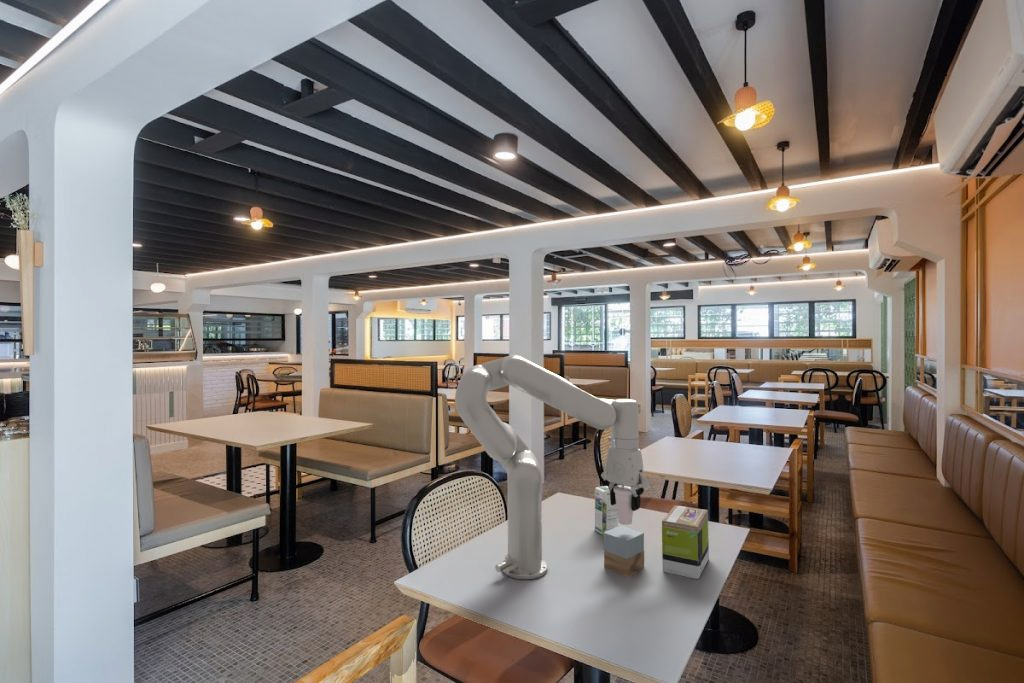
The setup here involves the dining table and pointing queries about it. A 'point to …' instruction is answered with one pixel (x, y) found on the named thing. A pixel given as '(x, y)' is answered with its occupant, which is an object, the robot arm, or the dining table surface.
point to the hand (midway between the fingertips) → (625, 506)
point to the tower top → (623, 541)
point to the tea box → (685, 541)
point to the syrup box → (604, 510)
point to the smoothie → (624, 504)
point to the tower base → (624, 563)
